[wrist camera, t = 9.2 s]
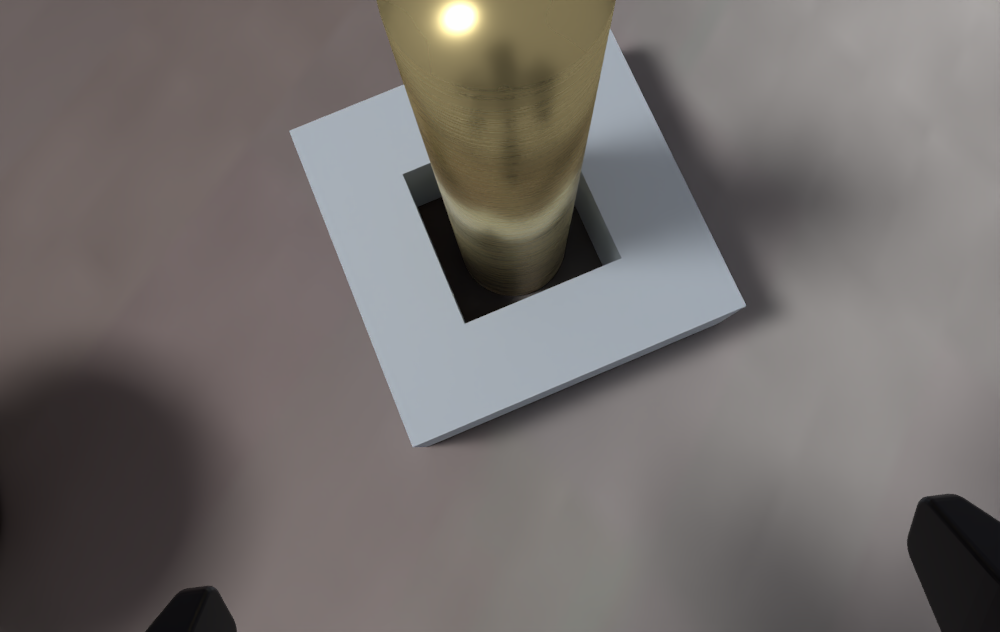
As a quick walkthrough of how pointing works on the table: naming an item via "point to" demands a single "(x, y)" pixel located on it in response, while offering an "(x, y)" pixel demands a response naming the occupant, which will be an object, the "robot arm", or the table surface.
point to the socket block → (534, 320)
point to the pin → (503, 121)
